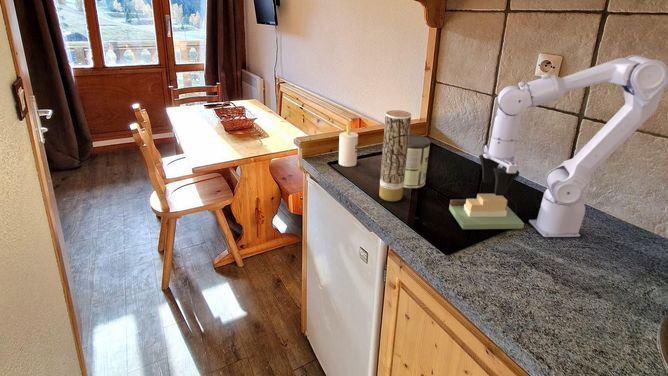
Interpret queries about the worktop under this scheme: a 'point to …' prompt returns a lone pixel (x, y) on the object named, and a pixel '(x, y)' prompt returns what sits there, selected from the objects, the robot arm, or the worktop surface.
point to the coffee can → (416, 161)
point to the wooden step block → (486, 206)
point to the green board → (483, 218)
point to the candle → (348, 148)
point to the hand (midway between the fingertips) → (493, 188)
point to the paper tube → (394, 154)
